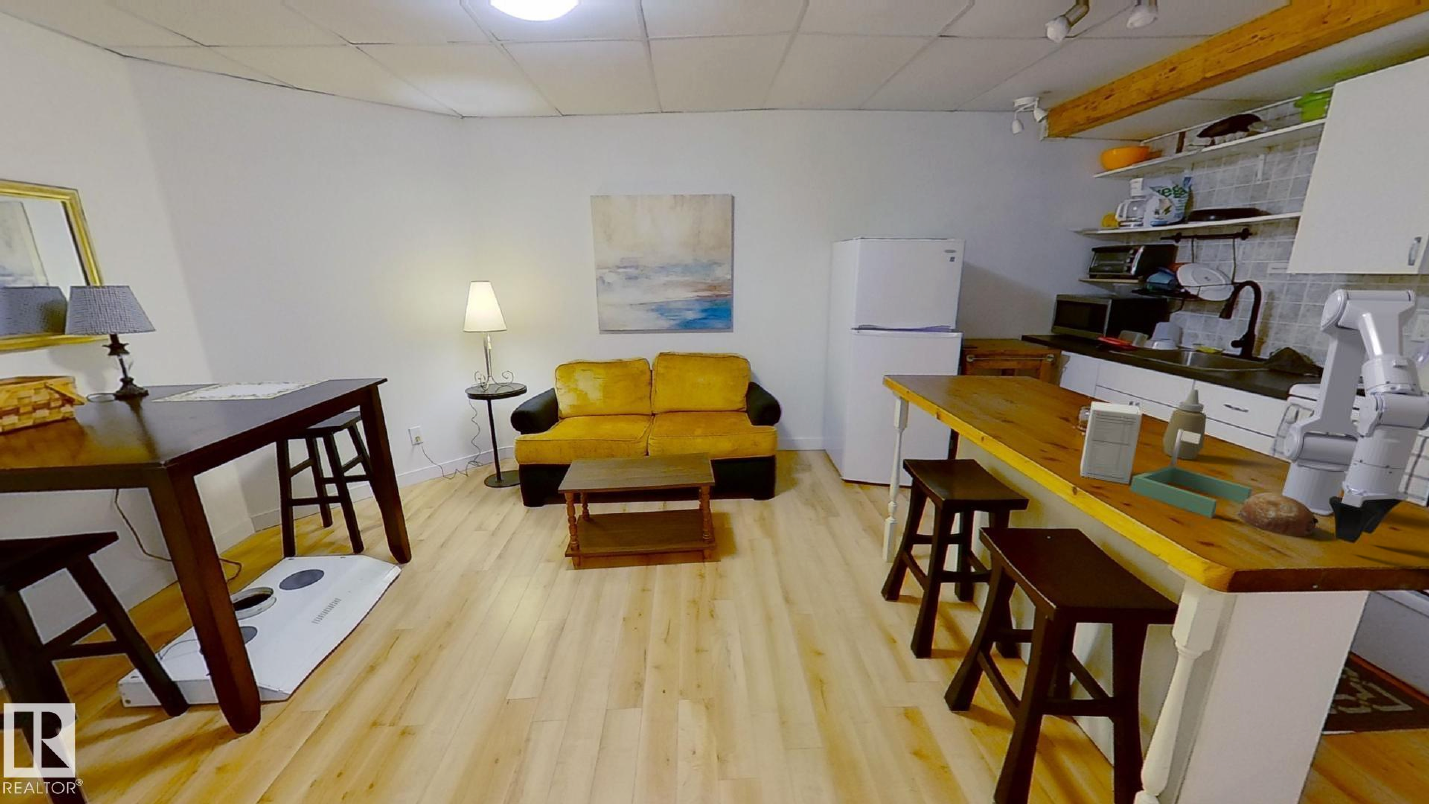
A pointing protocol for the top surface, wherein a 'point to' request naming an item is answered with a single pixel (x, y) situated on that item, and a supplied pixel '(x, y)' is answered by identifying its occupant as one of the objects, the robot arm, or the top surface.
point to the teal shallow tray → (1187, 484)
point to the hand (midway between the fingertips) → (1354, 535)
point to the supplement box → (1110, 442)
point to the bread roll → (1278, 514)
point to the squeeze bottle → (1186, 427)
